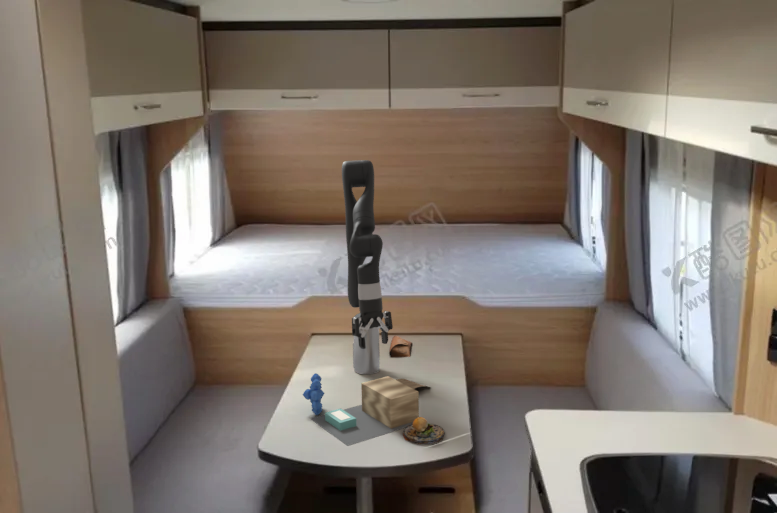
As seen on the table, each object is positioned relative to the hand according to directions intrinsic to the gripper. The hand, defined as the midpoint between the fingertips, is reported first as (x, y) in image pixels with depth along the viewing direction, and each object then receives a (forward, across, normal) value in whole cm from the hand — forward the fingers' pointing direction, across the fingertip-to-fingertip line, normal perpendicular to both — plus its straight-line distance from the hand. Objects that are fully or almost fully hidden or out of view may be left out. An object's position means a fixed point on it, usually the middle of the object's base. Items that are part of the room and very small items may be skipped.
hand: (373, 345), depth 225 cm
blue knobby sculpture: (+17, +23, -2) cm, 28 cm away
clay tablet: (+18, -10, +1) cm, 21 cm away
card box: (+18, +21, +10) cm, 29 cm away
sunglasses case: (+14, -35, -34) cm, 50 cm away
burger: (+21, +6, +32) cm, 38 cm away
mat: (+18, +14, +14) cm, 27 cm away
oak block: (+18, +6, +15) cm, 24 cm away
